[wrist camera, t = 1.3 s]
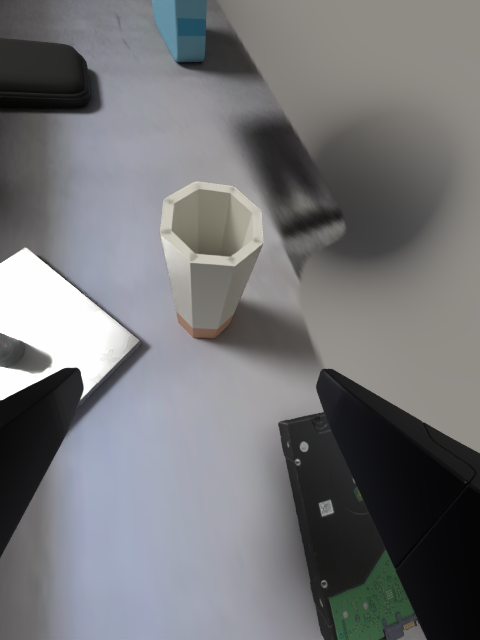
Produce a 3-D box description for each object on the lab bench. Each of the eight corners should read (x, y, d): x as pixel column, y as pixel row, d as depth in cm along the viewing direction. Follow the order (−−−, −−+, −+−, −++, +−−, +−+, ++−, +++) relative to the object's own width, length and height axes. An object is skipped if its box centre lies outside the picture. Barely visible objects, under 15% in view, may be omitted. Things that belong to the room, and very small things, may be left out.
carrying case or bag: (89, 65, 34) (-38, 56, 30) (80, 34, 31) (-62, 20, 27) (95, 115, 31) (-45, 112, 27) (85, 86, 28) (-73, 78, 24)
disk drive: (273, 422, 22) (319, 635, 18) (283, 424, 20) (340, 674, 15) (367, 400, 25) (429, 584, 20) (387, 399, 22) (464, 610, 17)
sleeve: (229, 338, 23) (265, 268, 11) (177, 337, 23) (156, 260, 11) (229, 292, 25) (260, 189, 13) (181, 290, 24) (166, 177, 12)
